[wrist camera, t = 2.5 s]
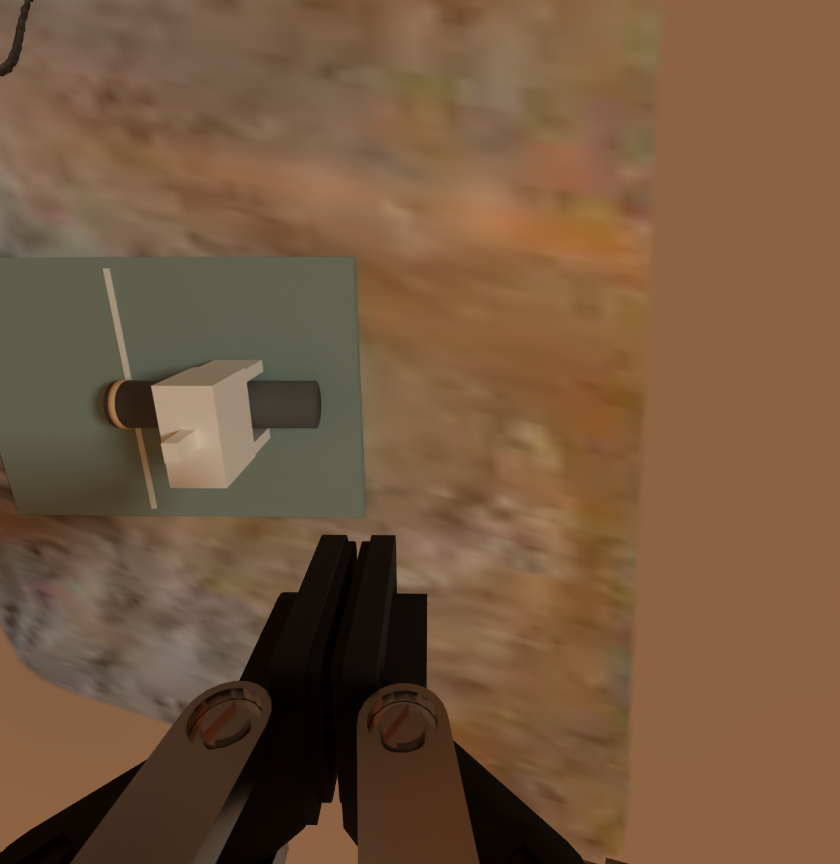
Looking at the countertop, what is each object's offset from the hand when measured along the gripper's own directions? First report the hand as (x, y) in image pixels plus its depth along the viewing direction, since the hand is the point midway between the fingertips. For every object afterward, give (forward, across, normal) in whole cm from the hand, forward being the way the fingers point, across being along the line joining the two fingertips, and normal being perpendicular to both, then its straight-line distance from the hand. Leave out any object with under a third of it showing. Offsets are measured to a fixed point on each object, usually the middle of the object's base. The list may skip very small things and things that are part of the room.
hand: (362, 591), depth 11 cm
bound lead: (+15, +9, -1) cm, 18 cm away
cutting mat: (+16, +12, -1) cm, 20 cm away
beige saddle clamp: (+15, +8, -1) cm, 17 cm away
